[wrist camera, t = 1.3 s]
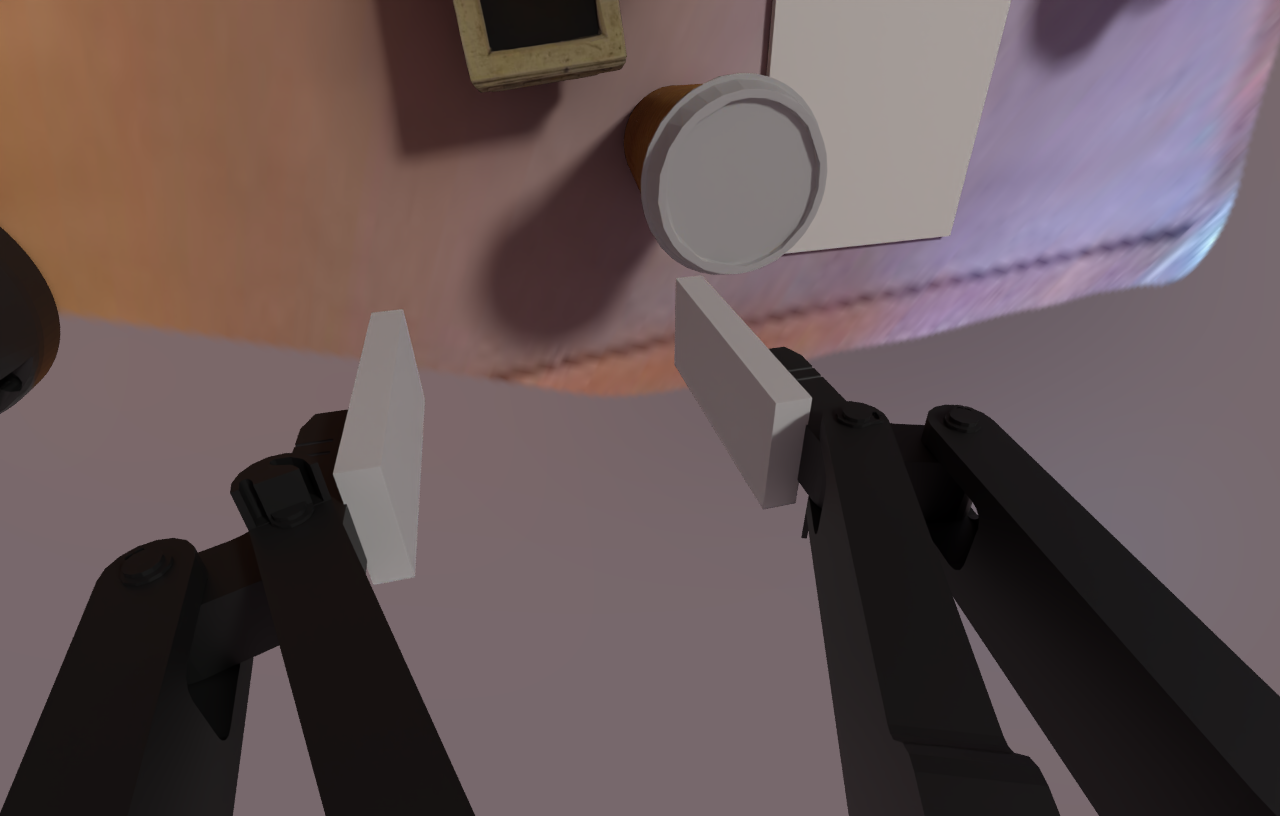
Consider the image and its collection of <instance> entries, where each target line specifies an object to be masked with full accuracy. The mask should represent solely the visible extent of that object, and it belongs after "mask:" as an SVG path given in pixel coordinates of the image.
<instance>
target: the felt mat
mask: <svg viewBox="0 0 1280 816" xmlns="http://www.w3.org/2000/svg"><path fill="white" fill-rule="evenodd" d="M1010 3H1011V0H773V2H772V13H771V25H770V37H769V49H768V61H767V73H766V76H768V77H772V78H774V79H777V80H779V81H781V82H783V83H785V84H786V85H788V86H789V87H791V88H792V89H793V90H794V91H795V92H797V93H798V94H799V95H800V96H801V97H802V98H803V99H804V101H805V102H806V103H807V105H808V106H809V108H810V109H811V111H812V113H813V115H814V116H815V118H816V120H817V123H818V126H819V129H820V132H821V135H822V138H823V141H824V144H825V149H826V154H827V178H826V186H825V191H824V195H823V198H822V201H821V204H820V206H819V209H818V211H817V214H816V216H815V218H814V219H813V221H812V223H811V224H810V226H809V227H808V229H807V231H806V232H805V234H804V235H803V236H802V237H801V238H800V239H799V240H798V242H797V243H796V244H795V245H794V246H793V247H792V248H791V249H789V250H788V251H787V252H786V253H795V252H805V251H814V250H823V249H832V248H842V247H851V246H860V245H870V244H879V243H888V242H897V241H907V240H916V239H925V238H934V237H944V236H950V234H951V230H952V226H953V222H954V218H955V215H956V211H957V207H958V203H959V199H960V195H961V191H962V188H963V184H964V180H965V176H966V172H967V168H968V164H969V161H970V157H971V153H972V149H973V145H974V141H975V137H976V134H977V130H978V126H979V122H980V118H981V114H982V110H983V107H984V103H985V99H986V95H987V91H988V87H989V83H990V80H991V76H992V72H993V68H994V64H995V60H996V56H997V53H998V49H999V45H1000V41H1001V37H1002V33H1003V30H1004V26H1005V22H1006V18H1007V14H1008V10H1009V6H1010ZM786 253H785V254H786Z"/></svg>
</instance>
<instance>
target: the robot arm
mask: <svg viewBox="0 0 1280 816" xmlns="http://www.w3.org/2000/svg"><path fill="white" fill-rule="evenodd" d="M59 342H60V322H59V315H58V311H57V307H56V304H55V301H54V298H53V296H52V293H51V291H50V289H49V287H48V285H47V283H46V281H45V279H44V278H43V276H42V274H41V273H40V271H39V269H38V268H37V267H36V265H35V264H34V262H33V261H32V260H31V259H30V257H29V256H28V255H27V254H26V252H25V251H24V250H23V249H22V248H21V247H20V246H19V245H18V243H17V242H16V241H15V240H14V239H13V238H12V237H11V236H10V235H9V234H8V233H6V232H5V231H4V230H3V229H2V228H1V227H0V414H1V413H2V412H4V411H6V410H7V409H9V408H10V407H12V406H13V405H15V404H16V403H17V402H18V401H19V400H21V399H22V398H23V397H24V396H25V395H26V394H27V393H28V392H29V391H30V390H31V389H32V388H33V387H34V386H36V384H37V383H39V381H41V379H42V378H43V377H44V376H45V375H46V374H47V372H48V371H49V369H50V367H51V366H52V364H53V362H54V360H55V358H56V355H57V352H58V347H59ZM675 366H676V368H677V369H678V371H679V373H680V374H681V376H682V378H683V379H684V381H685V383H686V384H687V386H688V387H689V389H690V391H691V392H692V394H693V395H694V397H695V399H696V401H697V402H698V404H699V405H700V407H701V409H702V410H703V412H704V414H705V415H706V417H707V419H708V420H709V422H710V423H711V425H712V427H713V428H714V430H715V432H716V433H717V435H718V437H719V438H720V440H721V441H722V443H723V445H724V446H725V448H726V450H727V451H728V453H729V455H730V456H731V458H732V459H733V461H734V463H735V464H736V466H737V468H738V469H739V471H740V472H741V474H742V476H743V477H744V479H745V481H746V482H747V484H748V486H749V487H750V489H751V490H752V492H753V494H754V495H755V497H756V498H757V500H758V502H759V504H760V505H761V507H762V509H768V508H773V507H778V506H783V505H789V504H794V503H796V496H797V490H798V484H799V483H800V484H801V485H802V487H803V488H804V489H805V491H806V492H807V494H808V495H809V497H808V503H807V508H806V514H805V520H804V526H803V531H802V538H807V534H808V531H809V537H810V544H811V551H812V558H813V565H814V572H815V579H816V586H817V593H818V600H819V608H820V614H821V622H822V629H823V636H824V643H825V650H826V657H827V664H828V671H829V678H830V685H831V693H832V700H833V707H834V714H835V721H836V728H837V735H838V742H839V749H840V756H841V763H842V770H843V777H844V784H845V792H846V799H847V806H848V813H849V816H1060V814H1059V811H1058V809H1057V806H1056V804H1055V801H1054V799H1053V797H1052V794H1051V791H1050V789H1049V786H1048V784H1047V782H1046V780H1045V778H1044V776H1043V775H1042V773H1041V771H1040V769H1039V767H1038V766H1037V765H1036V764H1035V763H1034V762H1033V761H1032V759H1030V757H1028V756H1025V755H1021V754H1016V753H1014V752H1013V751H1012V750H1011V749H1010V748H1009V747H1008V745H1007V743H1006V741H1005V739H1004V736H1003V734H1002V731H1001V728H1000V726H999V723H998V720H997V717H996V714H995V712H994V709H993V706H992V704H991V701H990V698H989V695H988V692H987V690H986V687H985V684H984V681H983V679H982V676H981V673H980V670H979V668H978V665H977V662H976V659H975V657H974V654H973V651H972V649H971V646H970V643H969V640H968V637H967V635H966V632H965V629H964V626H963V624H962V621H961V618H960V615H959V612H958V610H957V607H956V604H955V601H954V599H955V600H956V602H957V603H958V605H959V606H960V608H961V609H962V611H963V612H964V614H965V615H966V617H967V618H968V620H969V621H970V623H971V624H972V626H973V627H974V629H975V630H976V632H977V633H978V635H979V636H980V638H981V639H982V641H983V642H984V644H985V645H986V647H987V648H988V650H989V651H990V653H991V654H992V656H993V657H994V659H995V660H996V662H997V663H998V665H999V666H1000V668H1001V669H1002V671H1003V672H1004V674H1005V675H1006V677H1007V678H1008V680H1009V681H1010V683H1011V684H1012V686H1013V687H1014V689H1015V690H1016V692H1017V693H1018V695H1019V696H1020V698H1021V699H1022V701H1023V702H1024V704H1025V705H1026V707H1027V708H1028V710H1029V711H1030V713H1031V714H1032V716H1033V717H1034V719H1035V720H1036V722H1037V723H1038V725H1039V726H1040V728H1041V729H1042V731H1043V732H1044V734H1045V735H1046V737H1047V738H1048V740H1049V741H1050V743H1051V744H1052V746H1053V747H1054V749H1055V750H1056V752H1057V753H1058V755H1059V756H1060V757H1061V759H1062V761H1063V762H1064V764H1065V765H1066V767H1067V768H1068V770H1069V771H1070V773H1071V774H1072V776H1073V777H1074V779H1075V780H1076V782H1077V783H1078V784H1079V786H1080V788H1081V789H1082V791H1083V792H1084V794H1085V795H1086V797H1087V798H1088V800H1089V801H1090V803H1091V804H1092V806H1093V807H1094V809H1095V810H1096V812H1097V813H1098V815H1099V816H1280V696H1279V695H1277V694H1276V693H1275V692H1274V691H1273V690H1272V689H1271V688H1270V687H1269V686H1268V685H1267V684H1266V683H1265V682H1264V681H1263V680H1262V679H1261V678H1260V677H1259V676H1258V675H1257V674H1256V673H1255V672H1254V671H1253V670H1252V669H1251V668H1249V667H1248V666H1247V665H1246V664H1245V663H1244V662H1243V661H1242V660H1241V659H1240V658H1239V657H1238V656H1237V655H1236V654H1235V653H1234V652H1233V651H1232V650H1231V649H1230V648H1229V647H1228V646H1227V645H1226V644H1225V643H1224V642H1223V641H1221V639H1219V638H1218V637H1217V636H1216V635H1215V634H1214V633H1213V632H1212V631H1211V630H1210V629H1209V628H1208V627H1207V626H1206V625H1205V624H1204V623H1203V622H1202V621H1201V620H1200V619H1199V618H1198V617H1197V616H1196V615H1195V614H1193V613H1192V612H1191V611H1190V610H1189V609H1188V608H1187V607H1186V606H1185V605H1184V604H1183V603H1182V602H1181V601H1180V600H1179V599H1178V598H1177V597H1176V596H1175V595H1174V594H1173V593H1172V592H1171V591H1170V590H1169V589H1168V588H1167V587H1165V585H1164V584H1162V583H1161V582H1160V581H1159V580H1158V579H1157V578H1156V577H1155V576H1154V575H1153V574H1152V573H1151V572H1150V571H1149V570H1148V569H1147V568H1146V567H1145V566H1144V565H1143V564H1142V563H1141V562H1140V561H1138V559H1137V558H1135V557H1134V556H1133V555H1132V554H1131V553H1130V552H1129V551H1128V550H1127V549H1126V548H1125V547H1124V546H1123V545H1122V544H1121V543H1120V542H1119V541H1118V540H1117V539H1116V538H1115V537H1114V536H1113V535H1112V534H1111V533H1110V532H1109V531H1108V530H1107V529H1105V528H1104V527H1103V526H1102V525H1101V524H1100V523H1099V522H1098V521H1097V520H1096V519H1095V518H1094V517H1093V516H1092V515H1091V514H1090V513H1089V512H1088V511H1087V510H1086V509H1085V508H1084V507H1083V506H1081V504H1080V503H1079V502H1077V501H1076V500H1075V499H1074V498H1073V497H1072V496H1071V495H1070V494H1069V493H1068V492H1067V491H1066V490H1065V489H1064V488H1063V487H1062V486H1061V485H1060V484H1059V483H1058V482H1057V481H1056V480H1055V479H1054V478H1053V477H1052V476H1051V475H1049V474H1048V473H1047V472H1046V471H1045V470H1044V469H1043V468H1042V467H1041V466H1040V465H1039V464H1038V463H1037V462H1036V461H1035V460H1034V459H1033V458H1032V457H1031V456H1030V455H1029V454H1028V453H1027V452H1026V451H1024V449H1023V448H1022V447H1020V446H1019V445H1018V444H1017V443H1016V442H1015V441H1014V440H1013V439H1012V438H1011V437H1010V436H1009V435H1008V434H1007V433H1006V432H1005V431H1004V430H1003V429H1002V428H1001V427H1000V426H999V425H998V424H997V423H996V422H995V421H994V420H992V419H991V418H990V417H988V416H986V415H985V414H984V413H982V412H979V411H977V410H974V409H973V408H970V407H966V406H965V407H964V406H961V405H942V406H937V407H934V408H933V409H932V410H930V411H929V412H928V416H927V419H926V423H925V425H907V424H892V423H889V420H888V419H887V417H886V416H885V414H884V413H882V412H881V411H879V410H878V409H876V408H875V407H872V406H869V405H867V404H864V403H859V402H852V401H849V402H848V401H846V400H845V399H844V398H843V397H842V396H841V395H840V394H838V392H837V391H836V390H835V389H834V388H833V387H832V386H831V385H830V384H829V383H828V382H827V381H826V380H825V379H824V378H823V377H821V375H820V374H819V373H818V372H817V371H816V370H815V369H814V368H812V365H811V364H810V363H809V362H808V361H807V360H806V359H805V358H804V357H803V356H802V355H800V354H798V353H796V352H794V351H792V350H790V349H788V348H786V347H779V348H772V349H768V348H767V347H766V346H765V345H764V344H763V343H762V341H761V340H760V339H759V338H758V337H757V336H756V335H755V334H754V333H753V331H752V330H751V329H750V328H749V327H748V326H747V325H746V324H745V323H744V321H743V320H742V319H741V318H740V317H739V316H738V315H737V314H736V313H735V311H734V310H733V309H732V308H731V307H730V306H729V305H728V304H727V303H726V302H725V300H724V299H723V298H722V297H721V296H720V295H719V294H718V293H717V292H716V290H715V289H714V288H713V287H712V286H711V285H710V284H709V283H708V282H707V280H706V279H705V278H704V277H703V276H693V277H684V278H676V305H675ZM424 408H425V398H424V394H423V390H422V385H421V381H420V377H419V373H418V369H417V365H416V361H415V357H414V352H413V348H412V344H411V340H410V336H409V332H408V328H407V324H406V319H405V315H404V311H403V309H401V310H392V311H383V312H374V313H371V317H370V321H369V326H368V330H367V334H366V338H365V342H364V346H363V351H362V355H361V359H360V363H359V367H358V372H357V376H356V380H355V384H354V388H353V392H352V396H351V400H350V405H349V409H348V410H341V411H334V412H328V413H320V414H315V415H314V416H313V417H312V418H311V419H310V420H309V421H308V422H307V423H306V424H305V425H304V426H303V427H302V428H301V429H300V432H299V435H298V438H297V441H296V443H295V445H296V447H294V450H293V452H292V453H284V454H280V455H276V456H271V457H268V458H265V459H263V460H261V461H258V462H256V463H254V464H252V465H250V466H249V467H248V468H246V469H245V470H244V471H242V472H241V473H239V474H238V476H237V477H236V478H235V480H234V481H233V482H232V484H231V491H230V494H231V496H232V498H233V500H234V502H235V504H236V506H237V508H238V510H239V512H240V514H241V516H242V518H243V520H244V522H245V524H246V526H247V528H248V530H249V532H247V533H245V534H244V535H242V536H240V537H237V538H235V539H233V540H231V541H228V542H226V543H223V544H220V545H218V546H215V547H212V548H209V549H207V550H205V551H201V552H199V553H198V552H197V551H196V549H195V547H194V546H193V545H192V544H191V543H189V542H188V541H187V540H182V539H176V538H170V539H162V540H156V541H153V542H150V543H147V544H144V545H141V546H138V547H136V548H134V549H132V550H131V551H129V552H127V553H125V554H123V555H122V556H120V557H119V558H117V559H116V560H115V561H114V562H113V563H112V564H110V565H109V566H108V567H107V568H105V570H104V571H103V573H102V574H101V576H100V577H99V579H98V580H97V582H96V584H95V587H94V589H93V591H92V594H91V596H90V599H89V601H88V603H87V606H86V608H85V611H84V613H83V615H82V618H81V621H80V623H79V625H78V627H77V630H76V632H75V635H74V637H73V640H72V642H71V644H70V647H69V649H68V651H67V654H66V656H65V659H64V661H63V664H62V666H61V668H60V671H59V673H58V676H57V678H56V680H55V683H54V685H53V688H52V690H51V692H50V695H49V697H48V699H47V702H46V705H45V707H44V709H43V711H42V714H41V716H40V719H39V721H38V723H37V726H36V728H35V731H34V733H33V736H32V738H31V740H30V743H29V745H28V747H27V750H26V752H25V755H24V757H23V759H22V762H21V764H20V767H19V769H18V771H17V774H16V776H15V779H14V781H13V783H12V786H11V788H10V791H9V793H8V796H7V798H6V800H5V803H4V805H3V808H2V810H1V812H0V816H233V810H234V802H235V794H236V786H237V779H238V772H239V764H240V756H241V748H242V741H243V733H244V726H245V718H246V711H247V703H248V695H249V688H250V680H251V673H252V665H253V657H254V656H257V655H259V654H261V653H263V652H265V651H267V650H270V649H272V648H274V647H276V646H279V645H280V649H281V652H282V656H283V660H284V663H285V667H286V671H287V675H288V678H289V682H290V686H291V689H292V693H293V697H294V700H295V704H296V708H297V711H298V715H299V719H300V723H301V726H302V730H303V734H304V737H305V741H306V745H307V749H308V752H309V756H310V760H311V763H312V767H313V771H314V774H315V778H316V782H317V786H318V789H319V793H320V797H321V800H322V804H323V808H324V811H325V815H326V816H475V814H474V812H473V810H472V808H471V806H470V803H469V801H468V799H467V797H466V795H465V792H464V790H463V788H462V786H461V783H460V781H459V779H458V777H457V775H456V772H455V770H454V768H453V766H452V764H451V761H450V759H449V757H448V755H447V753H446V750H445V748H444V746H443V744H442V742H441V739H440V737H439V735H438V733H437V730H436V728H435V726H434V724H433V722H432V719H431V717H430V715H429V713H428V711H427V708H426V706H425V704H424V702H423V700H422V697H421V695H420V693H419V691H418V689H417V686H416V684H415V682H414V680H413V677H412V676H411V673H410V671H409V669H408V667H407V664H406V662H405V660H404V658H403V655H402V653H401V651H400V649H399V647H398V644H397V642H396V640H395V638H394V636H393V633H392V631H391V629H390V627H389V625H388V622H387V621H386V618H385V616H384V614H383V611H382V609H381V607H380V605H379V603H378V600H377V598H376V596H375V594H374V591H373V590H372V587H371V585H370V583H369V581H368V578H367V576H366V568H368V571H369V574H370V577H371V579H372V582H373V585H376V584H381V583H386V582H392V581H397V580H402V579H407V578H412V577H415V564H416V547H417V529H418V513H419V512H418V511H419V494H420V478H421V460H422V442H423V425H424ZM972 502H973V504H974V505H975V507H976V509H977V512H978V515H977V514H976V513H975V512H974V511H973V509H972V508H971V505H972ZM953 597H954V599H953Z"/></svg>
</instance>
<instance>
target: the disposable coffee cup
mask: <svg viewBox="0 0 1280 816" xmlns="http://www.w3.org/2000/svg"><path fill="white" fill-rule="evenodd" d="M624 150H625V156H626V160H627V163H628V166H629V168H630V170H631V172H632V175H633V177H634V179H635V181H636V184H637V186H638V188H639V190H640V193H641V201H642V206H643V210H644V215H645V218H646V220H647V223H648V226H649V229H650V231H651V232H652V234H653V236H654V237H655V239H656V240H657V242H658V243H659V245H660V247H661V248H662V249H663V250H664V251H665V252H666V253H667V254H668V255H669V256H670V257H671V258H672V259H674V260H675V261H677V262H679V263H680V264H682V265H683V266H685V267H687V268H690V269H692V270H695V271H698V272H701V273H707V274H713V275H714V274H739V273H745V272H750V271H753V270H756V269H759V268H762V267H764V266H766V265H768V264H770V263H771V262H773V261H775V260H777V259H779V258H780V257H781V256H782V255H783V254H785V253H786V252H787V251H788V250H789V249H791V248H792V247H793V246H794V245H795V244H796V243H797V242H798V240H799V239H800V238H801V237H802V236H803V235H804V234H805V232H806V231H807V229H808V227H809V226H810V224H811V223H812V221H813V219H814V218H815V216H816V214H817V211H818V209H819V206H820V204H821V201H822V198H823V195H824V191H825V186H826V178H827V154H826V149H825V144H824V141H823V138H822V135H821V132H820V129H819V126H818V123H817V120H816V118H815V116H814V115H813V113H812V111H811V109H810V108H809V106H808V105H807V103H806V102H805V101H804V99H803V98H802V97H801V96H800V95H799V94H798V93H797V92H795V91H794V90H793V89H792V88H791V87H789V86H788V85H786V84H785V83H783V82H781V81H779V80H777V79H774V78H772V77H768V76H764V75H760V74H752V73H737V74H731V75H726V76H720V77H717V78H715V79H713V80H711V81H709V82H706V83H704V84H694V85H678V86H673V85H672V86H667V87H662V88H660V89H657V90H655V91H653V92H651V93H650V94H649V95H647V96H646V97H644V98H643V99H642V100H641V101H640V102H639V104H638V105H637V106H636V107H635V109H634V110H633V112H632V114H631V115H630V118H629V121H628V123H627V126H626V130H625V136H624Z"/></svg>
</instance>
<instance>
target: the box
mask: <svg viewBox="0 0 1280 816" xmlns="http://www.w3.org/2000/svg"><path fill="white" fill-rule="evenodd" d="M453 5H454V9H455V14H456V18H457V23H458V27H459V32H460V36H461V41H462V46H463V50H464V55H465V59H466V64H467V68H468V72H469V75H470V79H471V82H472V84H473V86H474V87H475V88H476V89H477V90H479V91H480V92H488V91H492V92H496V91H504V90H510V89H516V88H521V87H527V86H534V85H540V84H546V83H552V82H558V81H565V80H571V79H578V78H583V77H588V76H593V75H597V74H599V73H604V72H610V71H616V70H620V69H621V68H622V67H623V65H624V64H625V62H626V57H627V55H626V48H625V41H624V33H623V27H622V20H621V13H620V6H619V0H453Z"/></svg>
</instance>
